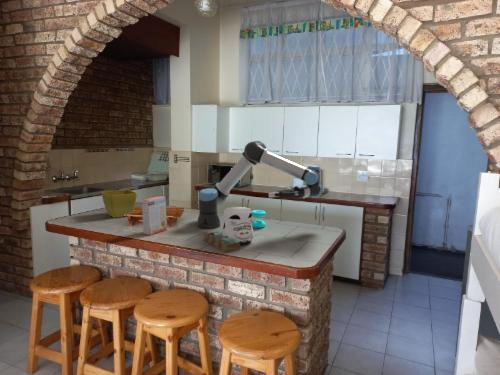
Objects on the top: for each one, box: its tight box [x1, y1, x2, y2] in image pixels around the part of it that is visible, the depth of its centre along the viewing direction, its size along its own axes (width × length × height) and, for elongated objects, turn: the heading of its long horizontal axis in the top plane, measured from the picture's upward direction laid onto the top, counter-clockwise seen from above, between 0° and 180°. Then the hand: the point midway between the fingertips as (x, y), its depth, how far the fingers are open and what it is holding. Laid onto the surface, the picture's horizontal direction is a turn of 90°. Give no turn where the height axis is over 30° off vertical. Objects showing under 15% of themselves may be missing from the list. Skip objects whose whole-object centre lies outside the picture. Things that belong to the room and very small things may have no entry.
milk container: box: [221, 206, 254, 245], centre depth 196 cm, size 17×17×18 cm
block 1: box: [214, 231, 223, 241], centre depth 196 cm, size 4×4×4 cm
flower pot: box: [101, 189, 138, 219], centre depth 252 cm, size 19×19×17 cm
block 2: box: [222, 237, 234, 245], centre depth 187 cm, size 4×4×4 cm
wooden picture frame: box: [203, 231, 241, 253], centre depth 191 cm, size 24×9×4 cm, turn 33°
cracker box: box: [141, 195, 168, 236], centre depth 211 cm, size 14×6×21 cm, turn 149°
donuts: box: [252, 209, 267, 229], centre depth 228 cm, size 10×10×10 cm
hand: (269, 195), depth 204 cm, fingers closed
